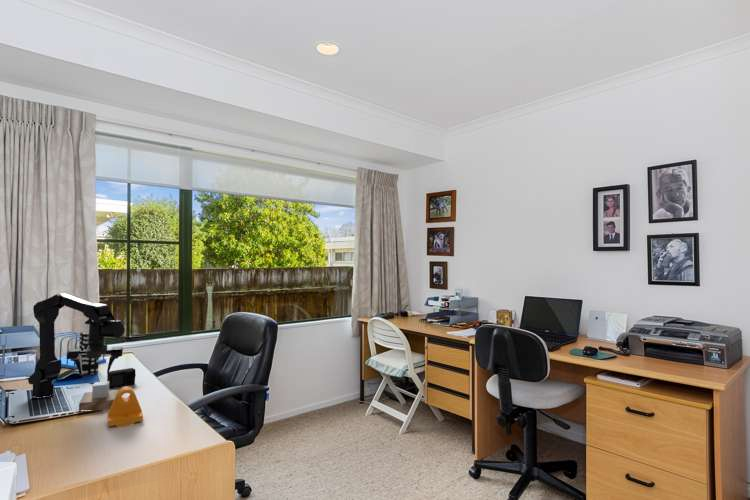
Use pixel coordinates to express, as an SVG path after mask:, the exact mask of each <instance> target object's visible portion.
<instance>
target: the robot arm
mask: <svg viewBox="0 0 750 500" xmlns="http://www.w3.org/2000/svg"><path fill="white" fill-rule="evenodd" d="M64 307H67V308H70V309H73V310H75V311H78V312H81V313H82V314H83V316H84V317H86V318H87V320H86V321H85V322H84V324H85V325H88V332H89V337H88V345H87V349H86V351H81V349H79V348H77V349H75V348H69V351H68V352H67V351H66V356H67V358H66V359H71V361H74V362H75V364H76V365H77V368H76V369H77V372H78V371H79V374H80V375H79V376H83V375H82V356H86V358H102V356H103V355H104V356H105V355H108V356H109V355H110V356H109V359H108V360H109V361H108V365H107V370H106V374H107V373H109V371H110V370H111V367H112V365H113V363H114V362H115V360H117V359H119V357H122V356H123V354H124V348H123V347H122V346H118V347H117V346H113V347H111V349H108V344H106V338H115V339H120V338H121V337H123V335H124V334H125V330H126V329H125V327H124V325H123V324H122V321H121V320H116V318H115V316H114V315H113V313H112V311H111V309H110V307H109V305H108V304H106V303H100V302H99V303H98V302H90V301H87V300H84V299H82V298H78V297H76V296H74V295H70V294H69V293H65V292H63V293H56V294H54V295H53V296H51V297H48V298H45V299H43V300H41V301H37V302H36V303H35V304H34V305H33V308H32V309H33V315H34V319H35V320H36V321H37V322H38V324H39V325H38V327H39V329H38V330H39V332H38V333H39V359H38V360H37V362H36V364H35V366H34V372H33V373H32V374H30V376H29V377H27V381H28V384H29V385H32V395H31V397H32V396H36V397H43V396H50V395H52V396H53V395H54V394H55V382H54V381H55V380H58V377H59V374H61V370H62V369H63V367H61V360H58V359H57V356H56V349H55V348H56V345H55V343H56V339H55V337H56V335H55V334H56V333H55V321H56V320H57V318H58V317H59V314H60V309H62V308H64Z"/></svg>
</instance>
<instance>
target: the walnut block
mask: <svg viewBox="0 0 750 500" xmlns="http://www.w3.org/2000/svg"><path fill="white" fill-rule="evenodd" d="M119 390H120V389H109V394H108V396H107V397H105V398H93V399H92V391H89V392H83V396H82V397H81V399H80V401H79V403H78V412H79V411H81V410H93V411H92V412H95V411H104V410H110V408H111V406H112V403H113V401H114V399H115V397H116V395H117V393H118V391H119Z"/></svg>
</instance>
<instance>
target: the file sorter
mask: <svg viewBox="0 0 750 500" xmlns="http://www.w3.org/2000/svg"><path fill="white" fill-rule="evenodd" d="M80 333H82V332H81V331H80V332H76V331H66V332H65V331H64V332H59V333H55V340H56V339H57V338H58V337H62V338H61V340H60V344H59V356H58V357H57V356H56V358H57V359H58V360H61V367H62V368H67V369H71V370H75V369H78V368H77V365H76V364H75V362H74V361H71V359H66V358H67V355H63V356H62V348H63V347H62V346H63V340H64V339H65V338H69V339H68V340H67V346H66V347H67V348H66V353H67V352H68V351H69V350H70V348H69V347H70V341H72V340H73V339H75V343H74V349H78V347H77V346H78V345H77V344H78V342H80ZM102 363H107V359H106V358H105V355H102V357H99V364H102Z"/></svg>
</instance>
